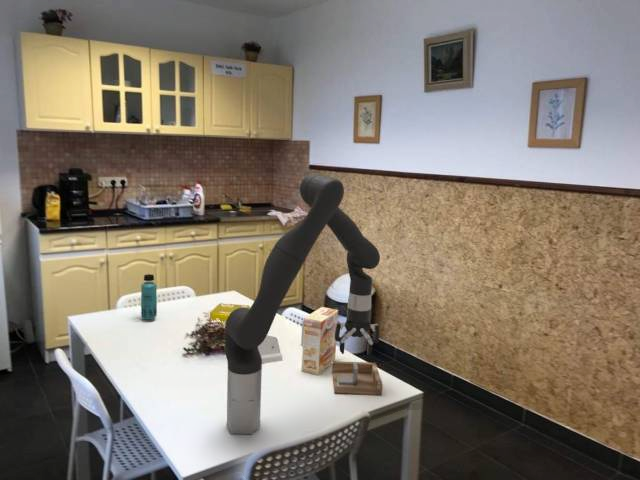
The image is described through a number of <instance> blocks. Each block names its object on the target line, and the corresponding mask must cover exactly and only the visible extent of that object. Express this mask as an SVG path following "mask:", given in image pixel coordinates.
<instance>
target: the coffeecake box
mask: <svg viewBox="0 0 640 480" xmlns="http://www.w3.org/2000/svg"><path fill="white" fill-rule="evenodd" d="M338 317H339V310H338V309H336V308H335V309H334V308H331V307H325V306H320V307H319V308H318V309H316V310H315V311H313V312H311V313H310V314H309V315H307V316H305V317H304V318H303V320H304V331H303V346H302V353H301V356H302V357H301V372H306V373H308V374H312V375H316V376H320V375H321V374H322V373H323V372H324V371H326V370H327V368H328V367H330V366H331V364H333V363H332V362H333V361H336V348H337V341H335V330H336V323H337V322H338V319H339V318H338Z"/></svg>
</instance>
